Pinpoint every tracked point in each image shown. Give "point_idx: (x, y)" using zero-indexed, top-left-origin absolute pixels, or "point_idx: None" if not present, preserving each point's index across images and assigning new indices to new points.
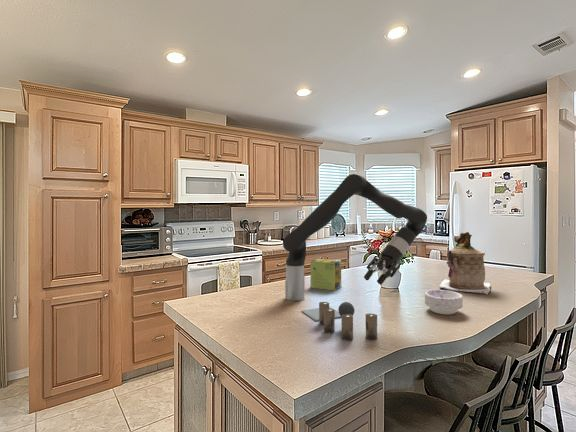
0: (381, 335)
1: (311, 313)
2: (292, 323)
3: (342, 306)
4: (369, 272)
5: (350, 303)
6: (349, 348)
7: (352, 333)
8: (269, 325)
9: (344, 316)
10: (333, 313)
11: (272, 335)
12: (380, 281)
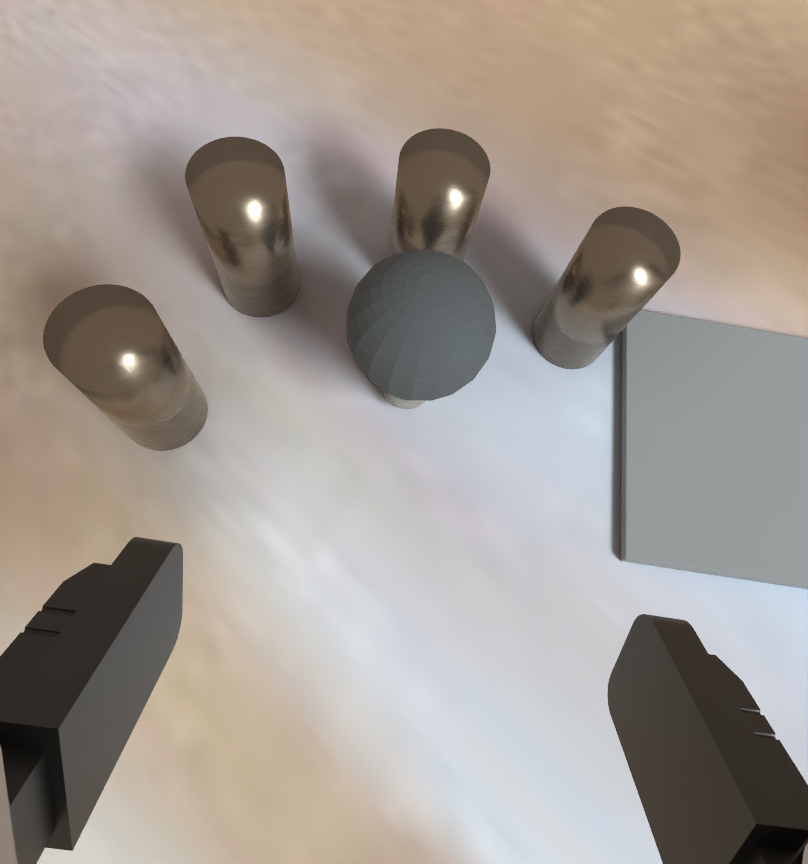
0: (146, 504)
1: (772, 364)
2: (650, 186)
3: (413, 249)
4: (713, 792)
5: (406, 321)
6: (141, 201)
7: (217, 272)
8: (670, 84)
9: (234, 147)
10: (399, 187)
11: (525, 31)
12: (91, 579)
